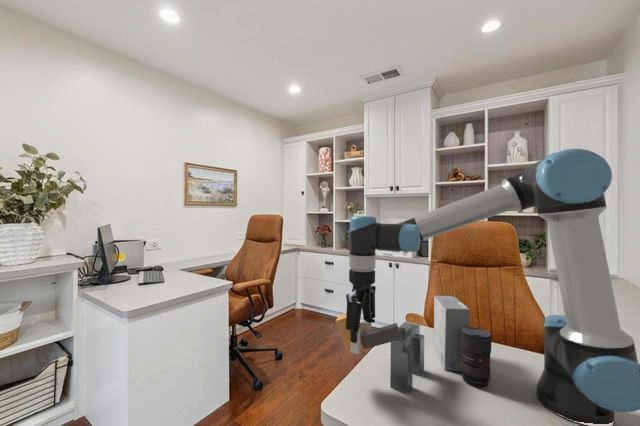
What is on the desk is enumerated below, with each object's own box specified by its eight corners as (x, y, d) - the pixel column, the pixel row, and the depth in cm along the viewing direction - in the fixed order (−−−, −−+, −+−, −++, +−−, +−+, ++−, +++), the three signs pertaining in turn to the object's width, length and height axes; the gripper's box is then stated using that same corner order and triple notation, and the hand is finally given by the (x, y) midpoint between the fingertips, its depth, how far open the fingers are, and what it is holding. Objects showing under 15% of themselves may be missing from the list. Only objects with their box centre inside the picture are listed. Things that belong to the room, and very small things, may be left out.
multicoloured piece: (401, 333, 82) (388, 300, 83) (401, 340, 77) (388, 304, 79) (350, 348, 85) (338, 315, 87) (347, 355, 81) (335, 321, 82)
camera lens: (495, 391, 79) (496, 338, 79) (464, 387, 81) (465, 335, 81) (485, 375, 87) (485, 327, 87) (457, 372, 89) (457, 324, 89)
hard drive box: (470, 373, 89) (470, 309, 89) (444, 370, 90) (445, 308, 90) (454, 349, 104) (455, 295, 104) (432, 347, 105) (433, 294, 105)
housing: (424, 370, 90) (424, 320, 90) (407, 394, 78) (407, 336, 78) (408, 365, 93) (408, 316, 93) (390, 387, 81) (390, 332, 81)
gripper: (365, 262, 92) (365, 333, 92) (332, 272, 76) (331, 357, 77) (387, 265, 87) (386, 340, 87) (357, 276, 72) (355, 366, 72)
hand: (361, 348), depth 82 cm, fingers closed on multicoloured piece, 6 cm apart
